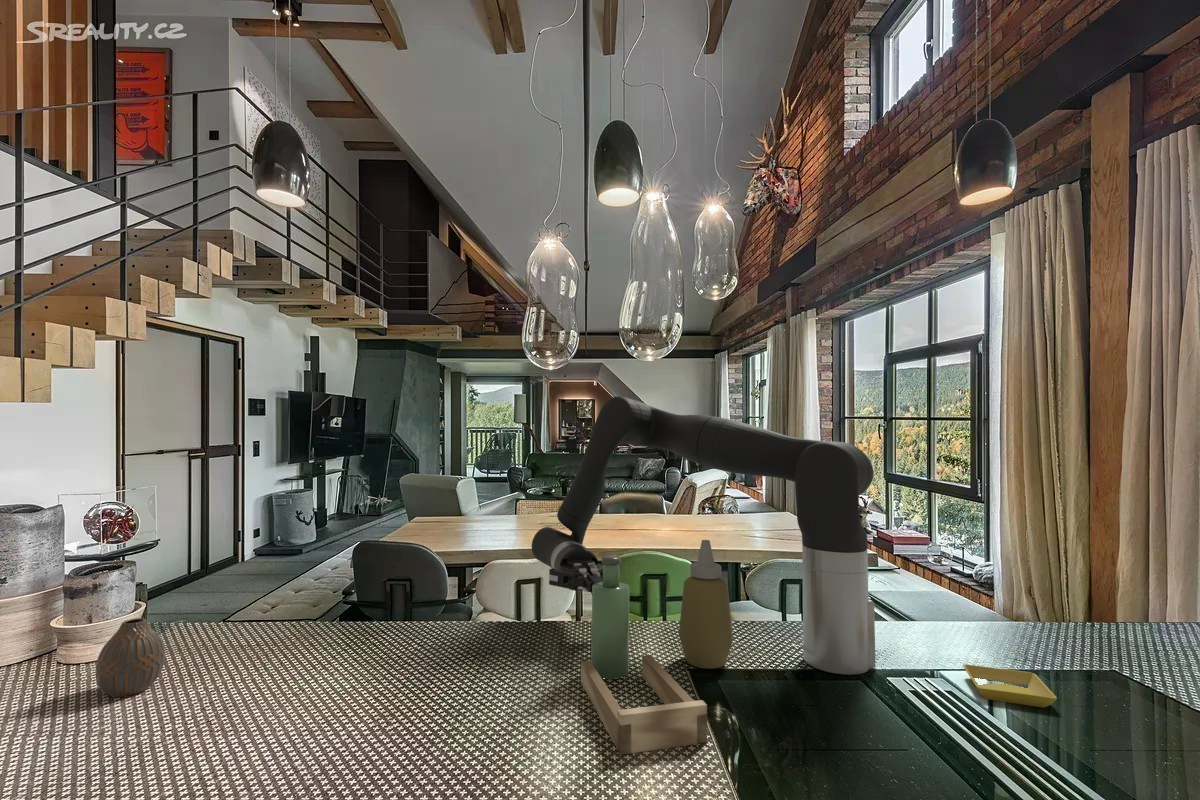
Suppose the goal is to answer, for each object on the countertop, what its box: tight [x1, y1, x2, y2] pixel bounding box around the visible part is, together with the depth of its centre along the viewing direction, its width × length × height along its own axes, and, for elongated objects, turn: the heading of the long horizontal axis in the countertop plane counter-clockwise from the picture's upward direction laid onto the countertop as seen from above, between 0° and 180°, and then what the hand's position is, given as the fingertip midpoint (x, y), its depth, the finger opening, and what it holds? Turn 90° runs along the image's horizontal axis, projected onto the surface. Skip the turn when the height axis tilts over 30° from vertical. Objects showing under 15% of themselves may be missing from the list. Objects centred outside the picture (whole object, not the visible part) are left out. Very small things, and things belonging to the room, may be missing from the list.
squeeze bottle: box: [678, 539, 734, 670], centre depth 85 cm, size 8×8×18 cm
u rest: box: [580, 654, 708, 755], centre depth 70 cm, size 10×18×4 cm, turn 16°
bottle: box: [590, 554, 631, 680], centre depth 81 cm, size 5×5×16 cm
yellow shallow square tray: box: [962, 664, 1058, 709], centre depth 76 cm, size 9×9×2 cm
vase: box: [95, 617, 166, 698], centre depth 73 cm, size 7×7×9 cm
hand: (598, 588), depth 88 cm, fingers closed
